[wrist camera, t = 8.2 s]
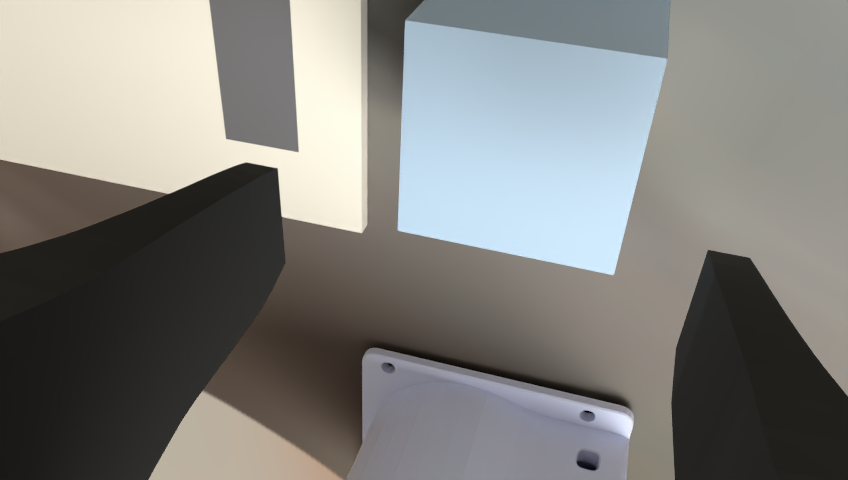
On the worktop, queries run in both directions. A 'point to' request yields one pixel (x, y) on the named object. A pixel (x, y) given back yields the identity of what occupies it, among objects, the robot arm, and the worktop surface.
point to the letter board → (192, 95)
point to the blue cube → (529, 123)
